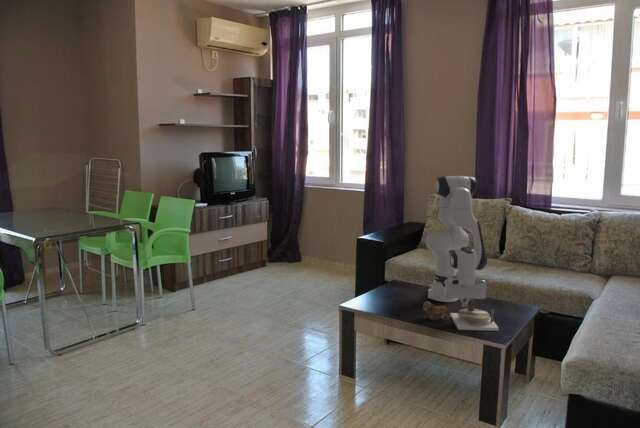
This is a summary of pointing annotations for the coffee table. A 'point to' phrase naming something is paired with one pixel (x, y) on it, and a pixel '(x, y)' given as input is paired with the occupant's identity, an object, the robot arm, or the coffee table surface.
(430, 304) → the lion figurine
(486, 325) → the post base
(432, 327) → the coffee table surface
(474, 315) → the beige round knobbed piece
